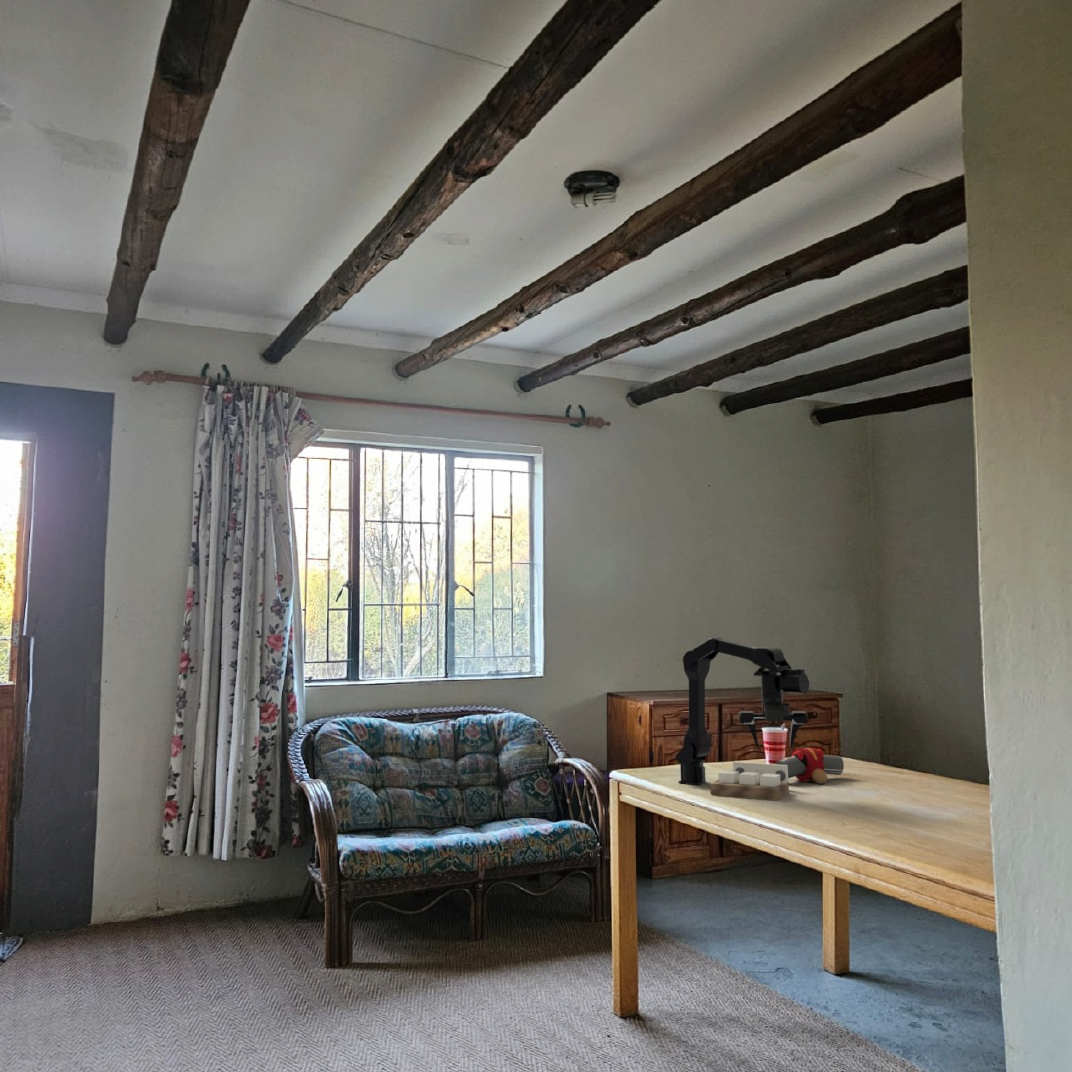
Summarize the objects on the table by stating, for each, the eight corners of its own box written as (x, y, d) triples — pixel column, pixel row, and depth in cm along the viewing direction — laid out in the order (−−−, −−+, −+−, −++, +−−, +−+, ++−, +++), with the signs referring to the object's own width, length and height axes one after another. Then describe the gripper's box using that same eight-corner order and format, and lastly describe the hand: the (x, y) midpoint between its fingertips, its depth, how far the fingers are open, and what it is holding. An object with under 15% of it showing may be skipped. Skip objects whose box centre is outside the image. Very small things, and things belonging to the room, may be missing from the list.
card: (733, 786, 270) (732, 761, 271) (734, 785, 271) (733, 761, 272) (787, 790, 262) (786, 765, 263) (788, 789, 263) (787, 765, 263)
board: (710, 794, 258) (710, 783, 259) (724, 787, 268) (723, 777, 268) (777, 800, 248) (776, 789, 249) (789, 793, 258) (788, 782, 258)
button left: (719, 787, 261) (718, 772, 261) (724, 784, 264) (723, 770, 265) (734, 788, 258) (733, 773, 259) (739, 785, 262) (738, 771, 262)
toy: (765, 787, 279) (796, 794, 266) (759, 753, 280) (790, 758, 266) (824, 770, 288) (857, 776, 274) (818, 737, 289) (851, 741, 275)
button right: (760, 790, 254) (759, 775, 255) (765, 787, 258) (764, 773, 258) (776, 791, 252) (775, 777, 252) (780, 789, 256) (780, 774, 256)
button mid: (739, 788, 258) (738, 774, 258) (744, 786, 261) (744, 771, 262) (754, 790, 255) (754, 775, 256) (759, 787, 259) (759, 773, 259)
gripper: (738, 694, 254) (740, 752, 252) (808, 694, 250) (811, 752, 249) (738, 691, 265) (740, 746, 263) (805, 691, 261) (807, 746, 260)
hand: (774, 748), depth 258 cm, fingers open, 9 cm apart
